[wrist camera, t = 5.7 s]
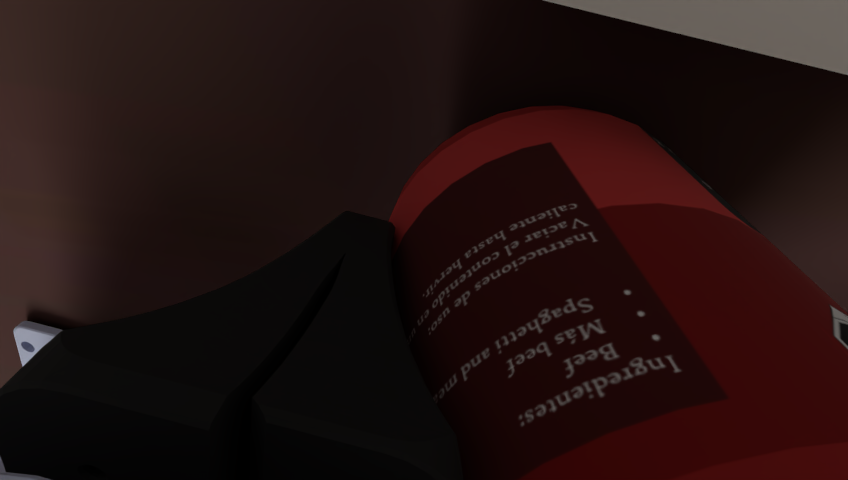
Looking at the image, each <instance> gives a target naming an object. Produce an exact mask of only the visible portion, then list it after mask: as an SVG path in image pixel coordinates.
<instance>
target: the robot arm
mask: <svg viewBox="0 0 848 480" xmlns="http://www.w3.org/2000/svg"><path fill="white" fill-rule="evenodd" d="M395 229H396V228H395V226H394V225H393V223H392V222H389V221H385V220H381V219H377V218H373V217H369V216H365V215H361V214H357V213H353V212H349V211H345V212H344V213H342V214H340V215H339V216H338V217H336V218H335V219H334V220H332V221H331V222H330V223H329V224H327V225H326V226H325V227H323V228H322V229H321V230H319V231H318V232H317V233H315V234H314V235H312V236H311V237H310V238H308V239H307V240H305V241H304V242H302V243H301V244H299V245H298V246H296V247H295V248H293V249H292V250H290V251H289V252H287V253H286V254H284V255H283V256H281V257H279V258H277V259H276V260H274V261H272V262H271V263H269V264H267V265H266V266H264V267H262V268H261V269H259V270H257V271H255V272H253V273H251V274H249V275H247V276H245V277H243V278H241V279H239V280H237V281H235V282H233V283H231V284H228V285H226V286H224V287H221V288H219V289H216V290H214V291H211V292H208V293H206V294H203V295H200V296H198V297H195V298H192V299H189V300H187V301H184V302H181V303H178V304H175V305H172V306H168V307H165V308H162V309H158V310H155V311H151V312H147V313H143V314H140V315H136V316H132V317H128V318H123V319H119V320H114V321H109V322H104V323H99V324H94V325H88V326H83V327H78V328H73V329H66V330H61V329H58V328H54V327H50V326H46V325H42V324H39V323H35V322H31V321H23V322H21V323H20V324H19V325H17V326H16V327H15V329H14V336H15V340H16V344H17V347H18V351H19V355H20V359H21V362H22V366H23V367H22V368H21V369H20V370H19V371H18V372H17V373H16V374H15V375H14V376H13V377H12V378H11V379H10V380H9V381H8V382H7V383H6V384H5V385H4V386H3V387H2V388H1V389H0V480H463V472H462V465H461V458H460V453H459V447H458V442H457V437H456V434H455V433H454V431H453V430H452V428H451V427H450V425H449V424H448V422H447V421H446V419H445V418H444V416H443V414H442V413H441V411H440V409H439V408H438V406H437V404H436V403H435V401H434V399H433V397H432V395H431V393H430V391H429V390H428V388H427V386H426V384H425V382H424V379H423V377H422V375H421V373H420V371H419V368H418V366H417V364H416V362H415V359H414V357H413V355H412V352H411V350H410V347H409V344H408V341H407V338H406V335H405V332H404V329H403V325H402V322H401V318H400V314H399V310H398V306H397V301H396V296H395V290H394V284H393V274H392V264H391V247H392V243H393V239H394V234H395Z"/></svg>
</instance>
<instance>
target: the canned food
mask: <svg viewBox="0 0 848 480" xmlns="http://www.w3.org/2000/svg"><path fill="white" fill-rule="evenodd" d="M389 222H392V223H393V225H394V226H395V228H396V229H395V234H394V239H393V243H392V247H391V264H392V274H393V284H394V290H395V296H396V301H397V306H398V310H399V314H400V318H401V322H402V325H403V329H404V332H405V335H406V338H407V341H408V344H409V347H410V350H411V352H412V355H413V357H414V359H415V362H416V364H417V366H418V368H419V371H420V373H421V375H422V377H423V379H424V382H425V384H426V386H427V388H428V390H429V391H430V393H431V395H432V397H433V399H434V401H435V403H436V404H437V406H438V408H439V409H440V411H441V413H442V414H443V416H444V418H445V419H446V421H447V422H448V424H449V425H450V427H451V428H452V430H453V431H454V433H455V434H456V437H457V442H458V447H459V453H460V458H461V465H462V472H463V480H848V313H847V312H845V311H844V310H843V309H842V308H841V307H840V306H839V305H838V304H837V303H836V302H835V301H834V300H832V299H831V298H830V297H829V296H828V295H827V294H826V293H825V292H824V291H823V290H822V289H821V288H819V287H818V286H817V285H816V284H815V283H814V282H813V281H812V280H811V279H810V278H809V277H808V276H807V275H805V274H804V273H803V272H802V271H801V270H800V269H799V268H798V267H797V266H796V265H795V264H794V263H792V262H791V261H790V260H789V259H788V258H787V257H786V256H785V255H784V254H783V253H782V252H781V251H779V250H778V249H777V248H776V247H775V246H774V245H773V244H772V243H771V242H770V241H769V240H768V239H766V238H765V237H764V236H763V235H762V234H761V233H760V232H759V231H758V230H757V229H756V228H755V227H753V226H752V225H751V224H750V223H749V222H748V221H747V220H746V219H745V218H744V217H743V216H742V215H740V214H739V213H738V212H737V211H736V210H735V209H734V208H733V207H732V206H731V205H730V204H729V203H728V202H726V201H725V200H724V199H723V198H722V197H721V196H720V195H719V194H718V193H717V192H716V191H715V190H713V189H712V188H711V187H710V186H709V185H708V184H707V183H706V182H705V181H704V180H703V179H702V178H700V177H699V176H698V175H697V174H696V173H695V172H694V171H693V170H692V169H691V168H690V167H689V166H687V165H686V164H685V163H684V162H683V161H682V160H681V159H680V158H679V157H678V156H677V155H676V154H674V153H673V152H672V151H671V150H670V149H669V148H668V147H667V146H666V145H665V144H664V143H663V142H661V141H660V140H659V139H657V138H656V137H654V136H653V135H651V134H650V133H648V132H647V131H645V130H644V129H642V128H641V127H639V126H638V125H635V124H633V123H630V122H628V121H625V120H622V119H620V118H617V117H614V116H612V115H609V114H605V113H601V112H597V111H593V110H588V109H582V108H575V107H569V106H562V105H558V106H531V107H526V108H521V109H517V110H512V111H508V112H503V113H499V114H496V115H494V116H491V117H489V118H487V119H484V120H482V121H479V122H477V123H475V124H472V125H470V126H468V127H466V128H465V129H463V130H462V131H460V132H458V133H457V134H455V135H454V136H452V137H451V138H449V139H447V140H446V141H444V142H443V143H442V144H440V145H439V146H438V147H437V148H436V149H435V150H434V151H433V152H432V153H431V154H430V155H429V156H428V157H427V158H425V159H424V160H423V161H422V162H421V163H420V164H419V166H418V167H417V169H416V170H415V171H414V173H413V174H412V176H411V177H410V178H409V180H408V181H407V182H406V184H405V185H404V187H403V189H402V192H401V194H400V196H399V198H398V201H397V203H396V205H395V207H394V210H393V212H392V214H391V216H390V219H389Z"/></svg>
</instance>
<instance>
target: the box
mask: <svg viewBox="0 0 848 480" xmlns="http://www.w3.org/2000/svg"><path fill="white" fill-rule="evenodd" d="M544 1H548V2H552V3H556V4H560V5H564V6H568V7H572V8H576V9H580V10H584V11H588V12H593V13H597V14H601V15H605V16H609V17H613V18H617V19H621V20H625V21H629V22H633V23H637V24H641V25H646V26H650V27H654V28H658V29H662V30H666V31H670V32H674V33H678V34H682V35H686V36H690V37H694V38H699V39H703V40H707V41H711V42H715V43H719V44H723V45H727V46H731V47H735V48H739V49H743V50H748V51H752V52H756V53H760V54H764V55H768V56H772V57H776V58H780V59H784V60H788V61H792V62H796V63H801V64H805V65H809V66H813V67H817V68H821V69H825V70H829V71H833V72H837V73H841V74H845V75H848V0H544Z"/></svg>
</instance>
